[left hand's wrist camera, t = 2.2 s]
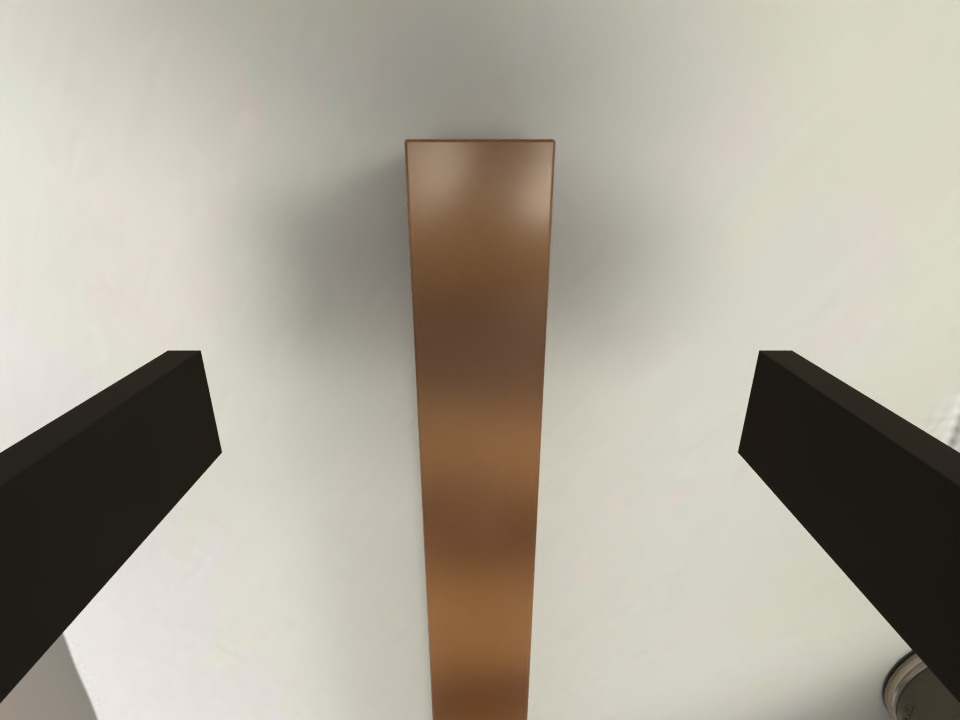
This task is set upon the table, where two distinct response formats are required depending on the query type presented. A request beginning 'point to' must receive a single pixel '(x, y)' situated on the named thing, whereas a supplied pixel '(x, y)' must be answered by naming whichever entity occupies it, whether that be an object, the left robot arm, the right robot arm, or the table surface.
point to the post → (479, 407)
